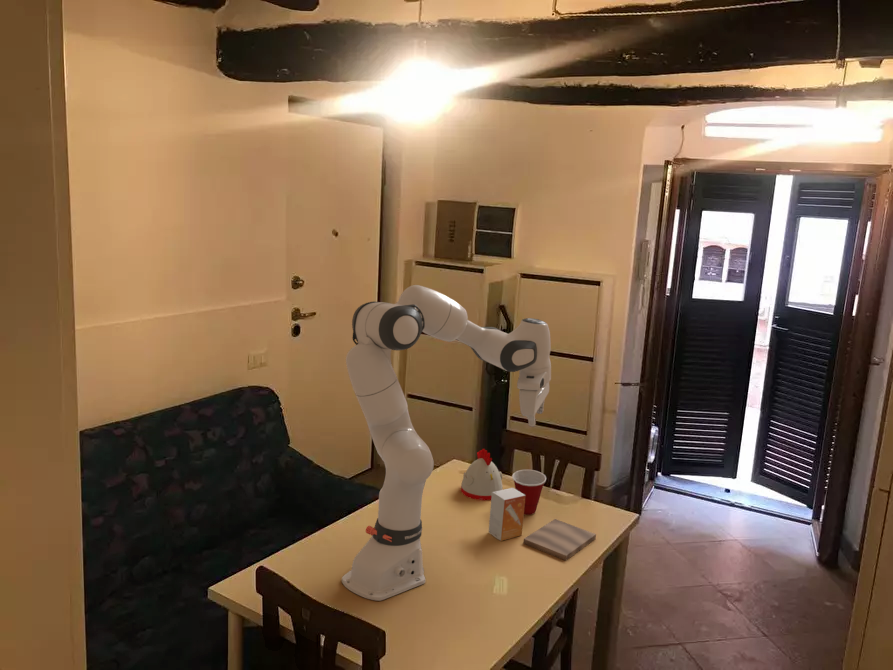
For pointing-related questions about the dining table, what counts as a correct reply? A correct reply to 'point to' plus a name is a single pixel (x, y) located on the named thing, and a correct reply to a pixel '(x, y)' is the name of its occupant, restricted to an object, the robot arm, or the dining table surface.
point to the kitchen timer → (481, 478)
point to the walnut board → (559, 539)
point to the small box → (506, 513)
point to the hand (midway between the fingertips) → (536, 419)
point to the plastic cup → (529, 487)
